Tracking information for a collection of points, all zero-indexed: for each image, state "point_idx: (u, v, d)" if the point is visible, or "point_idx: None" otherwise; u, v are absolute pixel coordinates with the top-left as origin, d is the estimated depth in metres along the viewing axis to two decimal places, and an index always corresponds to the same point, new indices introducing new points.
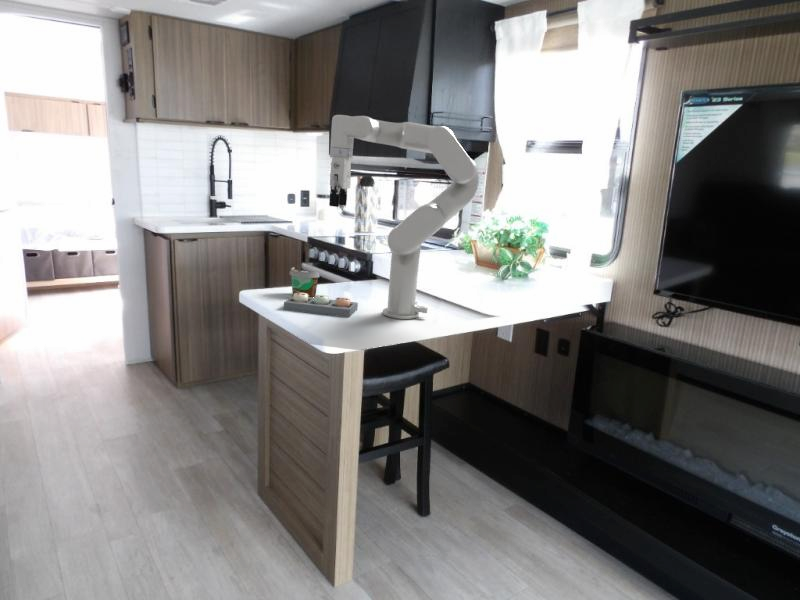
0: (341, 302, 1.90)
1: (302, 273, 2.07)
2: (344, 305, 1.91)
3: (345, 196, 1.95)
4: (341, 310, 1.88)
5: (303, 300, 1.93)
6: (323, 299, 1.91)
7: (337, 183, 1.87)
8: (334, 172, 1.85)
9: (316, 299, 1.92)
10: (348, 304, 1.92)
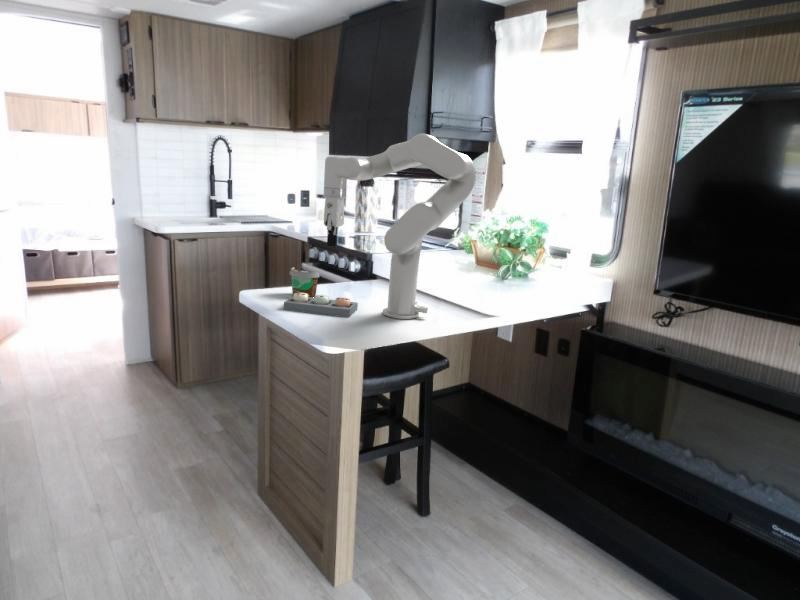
0: (341, 302, 1.90)
1: (302, 273, 2.07)
2: (344, 305, 1.91)
3: None
4: (341, 310, 1.88)
5: (303, 300, 1.93)
6: (323, 299, 1.91)
7: (332, 223, 1.95)
8: (328, 211, 1.92)
9: (316, 299, 1.92)
10: (348, 304, 1.92)
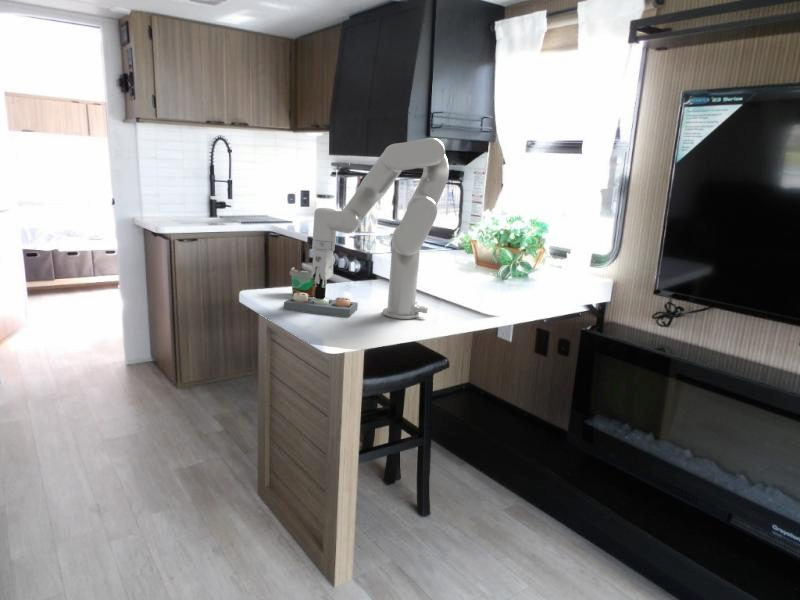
0: (341, 302, 1.90)
1: (302, 273, 2.07)
2: (344, 305, 1.91)
3: None
4: (341, 310, 1.88)
5: (303, 300, 1.93)
6: (323, 301, 1.92)
7: None
8: (316, 264, 1.86)
9: (316, 301, 1.92)
10: (348, 304, 1.92)
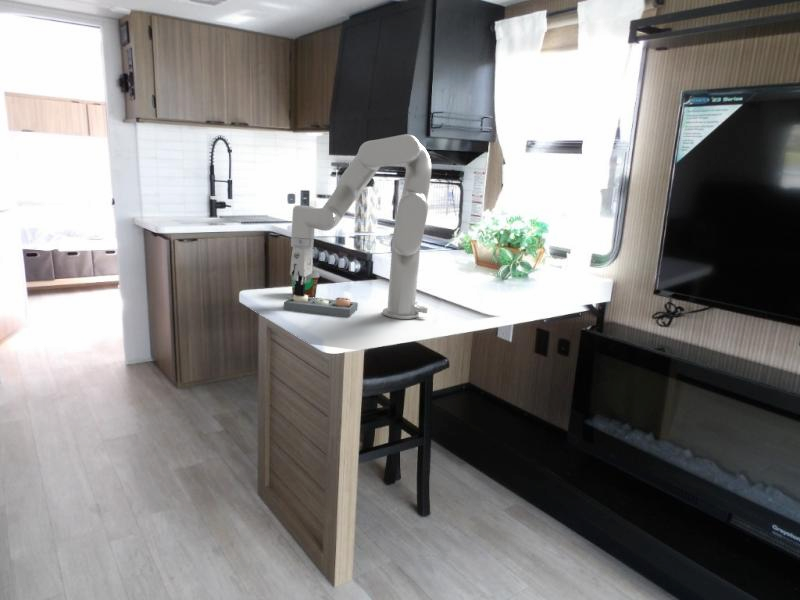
0: (341, 302, 1.90)
1: None
2: (344, 305, 1.91)
3: None
4: (341, 310, 1.88)
5: None
6: (323, 303, 1.92)
7: None
8: (295, 262, 1.87)
9: (316, 303, 1.92)
10: (348, 304, 1.92)
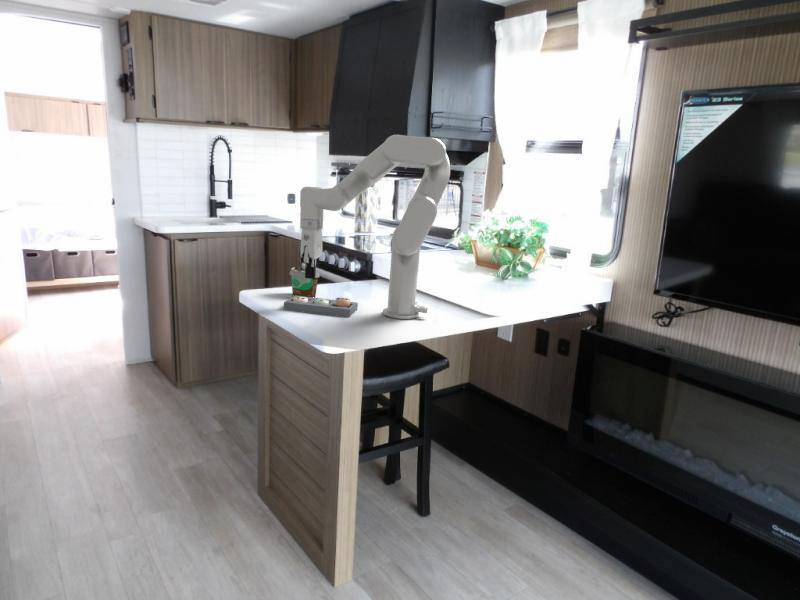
0: (341, 302, 1.90)
1: (302, 273, 2.07)
2: (344, 305, 1.91)
3: None
4: (341, 310, 1.88)
5: None
6: (323, 303, 1.92)
7: (309, 255, 1.89)
8: (305, 243, 1.85)
9: (316, 303, 1.92)
10: (348, 304, 1.92)
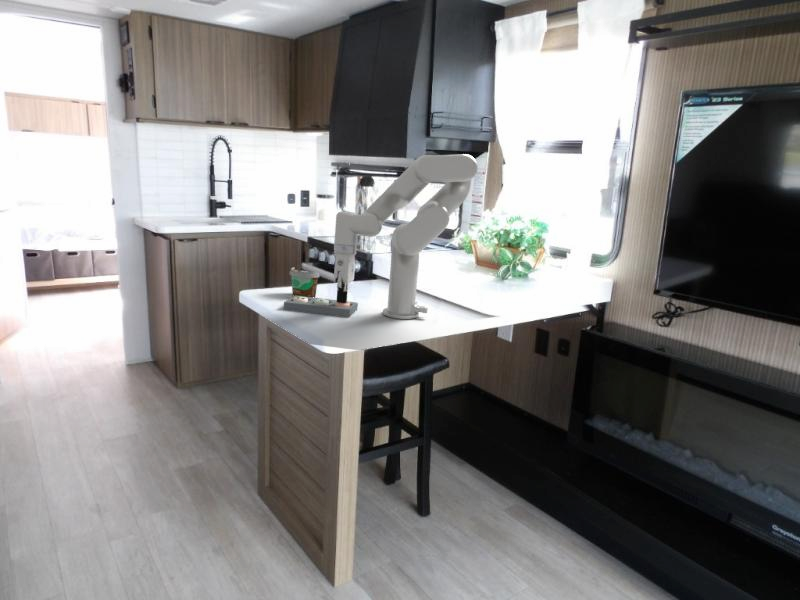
0: (341, 306, 1.91)
1: (302, 273, 2.07)
2: None
3: None
4: (341, 310, 1.88)
5: None
6: (323, 303, 1.92)
7: None
8: (338, 268, 1.85)
9: (316, 303, 1.92)
10: None
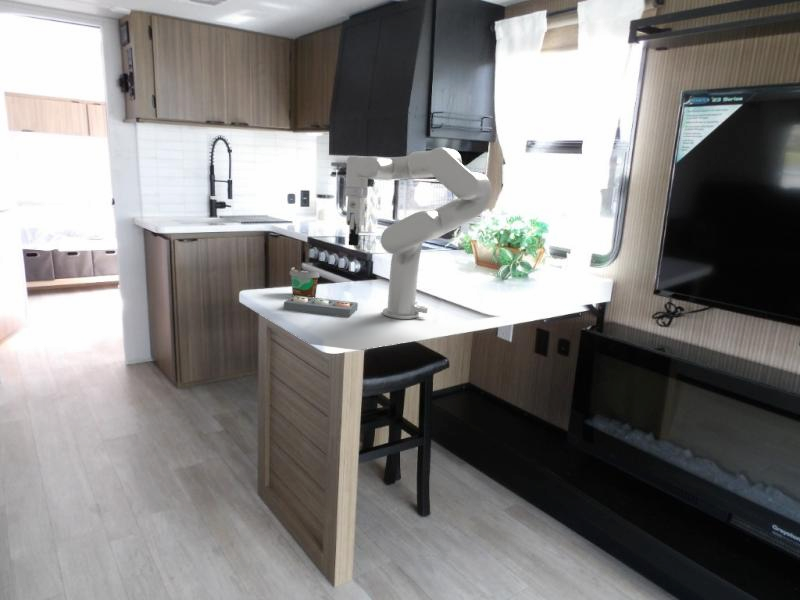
0: (341, 306, 1.91)
1: (302, 273, 2.07)
2: None
3: None
4: (341, 310, 1.88)
5: None
6: (323, 303, 1.92)
7: None
8: (351, 211, 1.92)
9: (316, 303, 1.92)
10: None
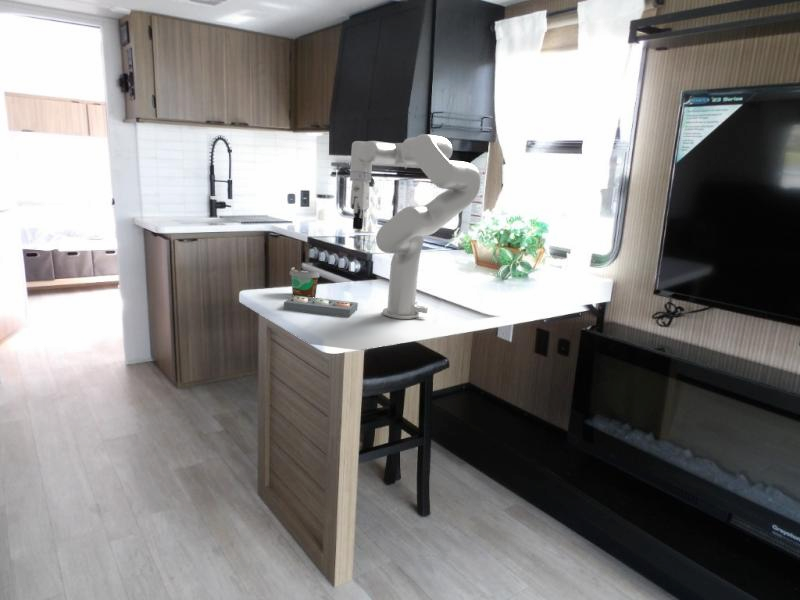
0: (341, 306, 1.91)
1: (302, 273, 2.07)
2: None
3: None
4: (341, 310, 1.88)
5: None
6: (323, 303, 1.92)
7: None
8: (355, 194, 1.97)
9: (316, 303, 1.92)
10: None
